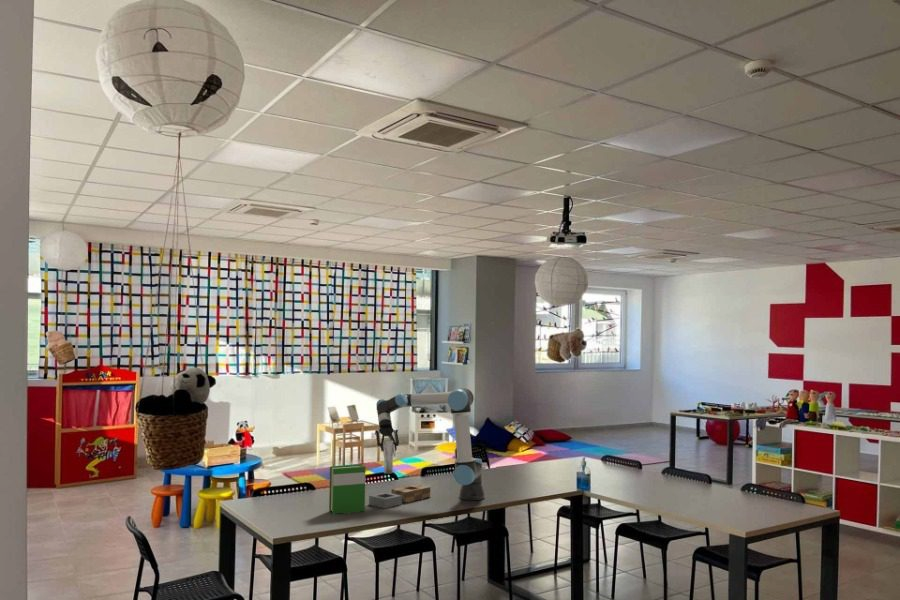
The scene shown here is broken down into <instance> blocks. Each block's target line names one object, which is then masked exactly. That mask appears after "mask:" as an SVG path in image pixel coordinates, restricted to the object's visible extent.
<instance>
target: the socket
mask: <svg viewBox="0 0 900 600" xmlns="http://www.w3.org/2000/svg"><path fill="white" fill-rule="evenodd" d="M368 497H369V498H368V505H369V506H372V505H373V506H372V507H376V506H377V508H380V507H381V508H380V509H384V508H385V509H388V507H390V508H394V507H397V505H398V506H402V505H401V504H402V503H403V502H402V496H401V495H396V494H392V492H388V491H385V492H380V493H377V494H370V495H368ZM393 506H394V507H393Z"/></svg>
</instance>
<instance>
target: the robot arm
mask: <svg viewBox="0 0 900 600" xmlns="http://www.w3.org/2000/svg"><path fill="white" fill-rule="evenodd" d="M474 399H475V398H474V393H473V392H472V391H471V390H470V389H469V388H466V387H465V388H464V387H463V388H457V389H452V390H451V391H448V392H446V391H445V392H426V393H404V392H403V393H402V392H401V393H399V394H396V395H394V396H393V397H391V398H389V399H386V398H382V399H378V400H377V402H376V404H375V405H376V413H377V421H378V428H379V429H375V431H374V435H375V438H376V446H377V447H380V450H381V452H383V458H384V457H385V456H386V451H385V445H384V441H385V437H388V438H389V440H393V458H394V457H396V455H397V453H396V451H397V447H398V446H399V444H400V442H399V434H398V431H399V429H394V428H393V425H392V418H391V413H393V412H395V411H397V410H399V409H401V408H408V407H410V408H411V407H425V406H427V407H428V406H429V407H431V406H447V405H448V407H449V408H450V414H451V415H452V417H453V423H454V435H455V436H454V437H455V448H456V458H455V461H454V467H455V468H454V471H453V479H454V480H455V482H456V483H458V484H459V485H461V487H460V492H459V495H458V496H459V497H458V498H459V499H461V500H465V501H480V500H484V499H485V498H486V494H485V492H484V487H483V461H482V460H483V459H481V458H474V457H473V454H472V453H473V452H472V441H471V428H470V417H469V415H470V414H471V412H472V409H471V406H472V405H473V403H474ZM393 434H394V436H393ZM380 435H381V441H380Z"/></svg>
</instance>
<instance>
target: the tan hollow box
mask: <svg viewBox="0 0 900 600" xmlns="http://www.w3.org/2000/svg"><path fill="white" fill-rule="evenodd" d="M391 493H392V494H396V495H401V496H402V503H403V502H408V503H411V502H410V501H412V502H415V501H414V500H417V501H419V500H418V499H421V500H423V499H422V498H426V497H430V498H431V486H426V485H421V484H410V485H404V486H401V487H396V488H395V487H394V488H391ZM426 499H427V498H426Z"/></svg>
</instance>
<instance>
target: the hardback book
mask: <svg viewBox="0 0 900 600" xmlns="http://www.w3.org/2000/svg"><path fill="white" fill-rule="evenodd" d="M328 500H329V503H328V504H329V505H328V507H329V509H328V512H329V511H332V512H331V515H332V514H336V515H338V514H337V513H346V514H350V513H349V512H356V513H361V512H360V511H365V512H366V507H365V506H366V466H365V465H363V464H345V465H334V466H329V499H328Z"/></svg>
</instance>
